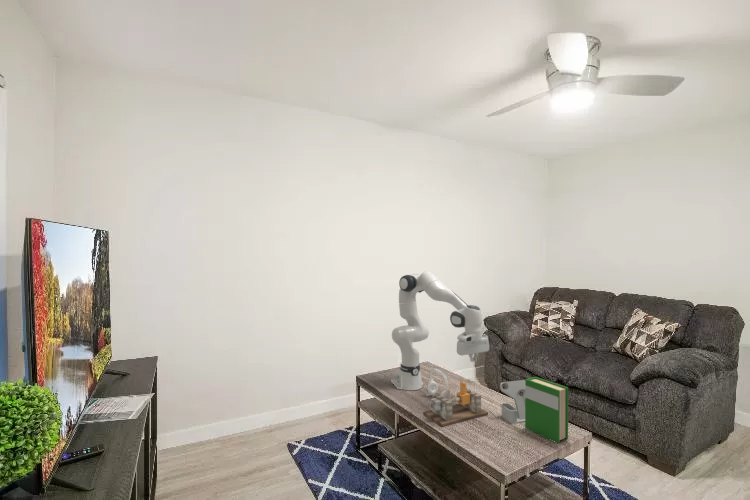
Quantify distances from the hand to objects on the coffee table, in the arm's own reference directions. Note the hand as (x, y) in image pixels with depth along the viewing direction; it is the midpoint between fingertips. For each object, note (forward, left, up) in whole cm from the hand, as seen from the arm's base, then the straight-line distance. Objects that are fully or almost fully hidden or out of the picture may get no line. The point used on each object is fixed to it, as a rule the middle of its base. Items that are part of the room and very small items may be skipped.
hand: (473, 361), depth 211 cm
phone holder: (+18, +15, -27) cm, 36 cm away
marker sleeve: (0, -7, -21) cm, 22 cm away
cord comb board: (0, -12, -27) cm, 29 cm away
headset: (-19, -9, -27) cm, 34 cm away
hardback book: (+36, +13, -27) cm, 47 cm away
